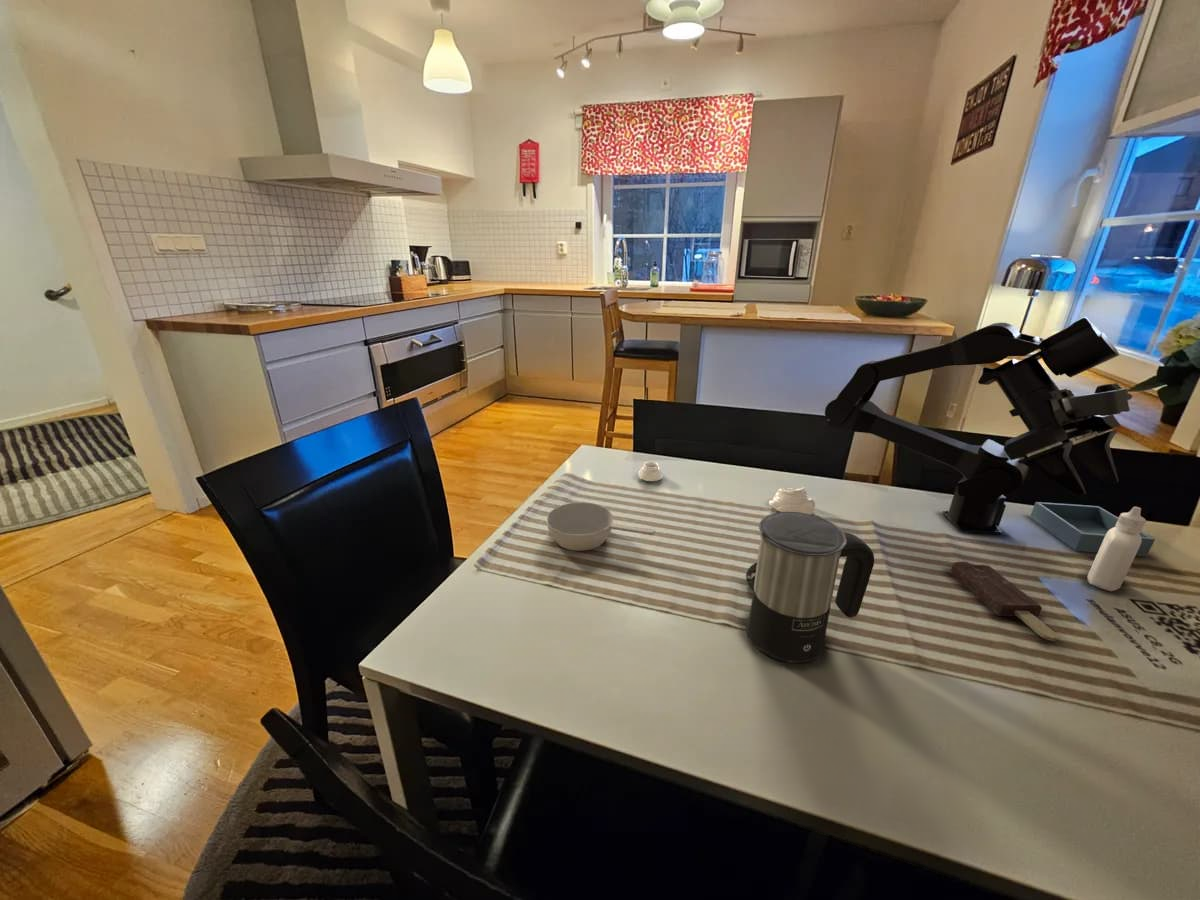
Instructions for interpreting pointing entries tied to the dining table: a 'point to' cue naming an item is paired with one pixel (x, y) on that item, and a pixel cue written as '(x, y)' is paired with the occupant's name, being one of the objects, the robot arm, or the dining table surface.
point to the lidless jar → (650, 472)
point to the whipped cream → (793, 501)
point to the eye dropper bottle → (1117, 551)
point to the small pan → (584, 525)
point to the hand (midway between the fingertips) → (1098, 488)
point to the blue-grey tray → (1081, 525)
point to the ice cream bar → (1001, 595)
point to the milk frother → (802, 583)
